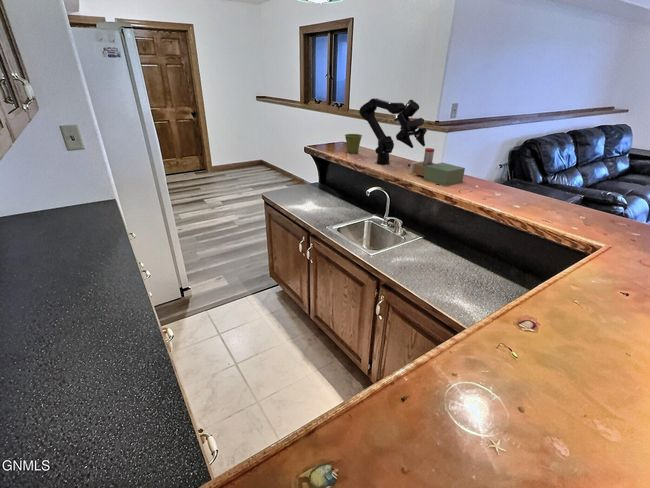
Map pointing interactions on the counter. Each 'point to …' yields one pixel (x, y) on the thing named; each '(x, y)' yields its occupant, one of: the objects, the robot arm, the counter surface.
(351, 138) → the plant pot
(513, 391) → the counter surface
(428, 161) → the canister
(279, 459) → the counter surface
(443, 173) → the cabinet
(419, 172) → the drawer
